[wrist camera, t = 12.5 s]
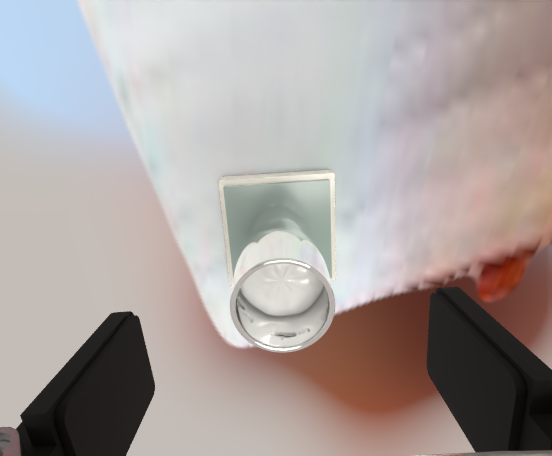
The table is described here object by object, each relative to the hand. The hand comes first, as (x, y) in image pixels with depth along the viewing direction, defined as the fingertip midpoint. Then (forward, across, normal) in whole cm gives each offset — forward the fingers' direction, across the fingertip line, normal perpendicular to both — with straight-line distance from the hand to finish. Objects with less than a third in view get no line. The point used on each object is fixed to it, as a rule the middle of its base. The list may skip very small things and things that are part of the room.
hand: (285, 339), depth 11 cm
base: (+28, 0, +4) cm, 28 cm away
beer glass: (+24, 0, +4) cm, 25 cm away
